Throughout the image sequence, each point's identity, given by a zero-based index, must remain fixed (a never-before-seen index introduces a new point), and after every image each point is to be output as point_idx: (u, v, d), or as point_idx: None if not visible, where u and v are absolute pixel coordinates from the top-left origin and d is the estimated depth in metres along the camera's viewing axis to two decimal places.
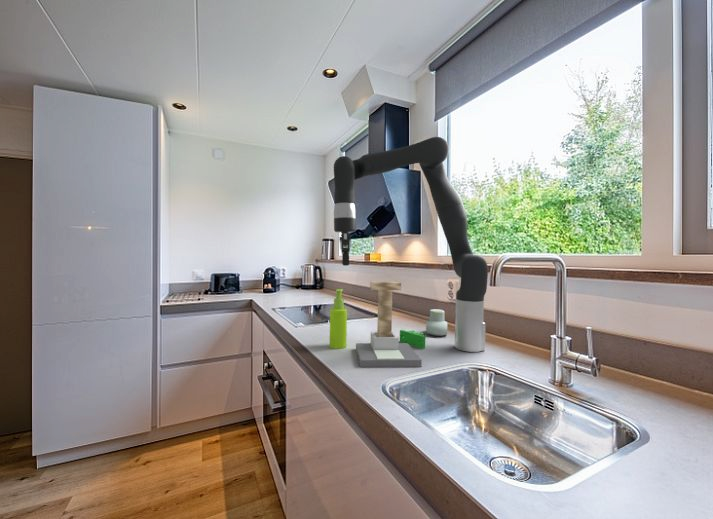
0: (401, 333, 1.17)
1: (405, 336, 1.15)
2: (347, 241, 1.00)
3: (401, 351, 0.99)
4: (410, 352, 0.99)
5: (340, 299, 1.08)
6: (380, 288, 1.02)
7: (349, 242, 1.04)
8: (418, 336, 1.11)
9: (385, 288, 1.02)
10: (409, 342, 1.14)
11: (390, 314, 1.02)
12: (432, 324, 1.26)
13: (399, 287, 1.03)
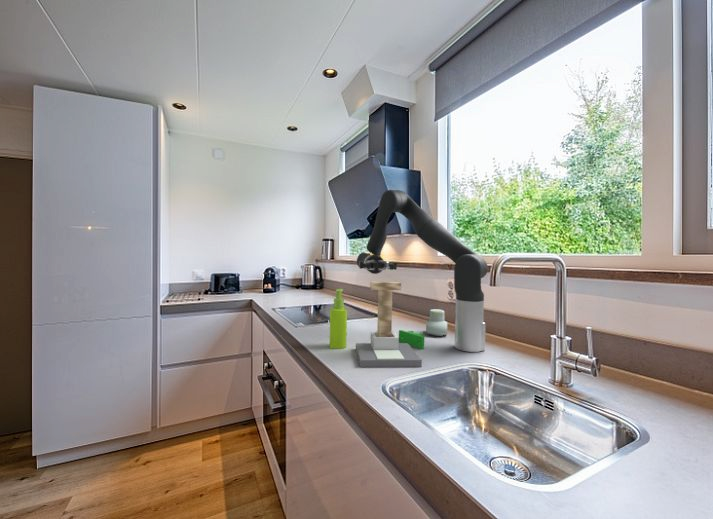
0: (400, 333, 1.17)
1: (404, 336, 1.15)
2: (359, 263, 1.21)
3: (401, 351, 0.99)
4: (410, 352, 0.99)
5: (340, 299, 1.08)
6: (380, 288, 1.02)
7: None
8: (417, 336, 1.10)
9: (385, 288, 1.02)
10: (408, 342, 1.13)
11: (390, 314, 1.02)
12: (432, 324, 1.26)
13: (399, 287, 1.03)
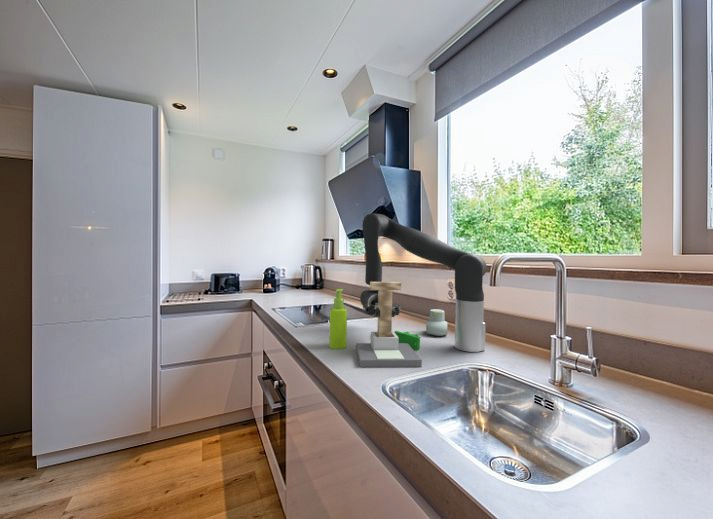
0: (396, 334, 1.15)
1: (400, 337, 1.14)
2: (365, 307, 1.08)
3: (401, 351, 0.99)
4: (410, 352, 0.99)
5: (340, 299, 1.08)
6: (380, 288, 1.02)
7: (375, 305, 1.09)
8: (413, 337, 1.09)
9: (385, 288, 1.02)
10: None
11: (390, 314, 1.02)
12: (432, 324, 1.26)
13: (399, 287, 1.03)
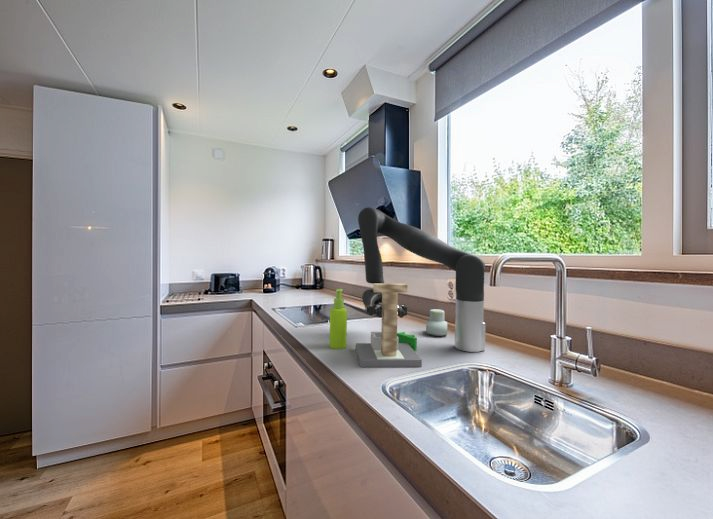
0: None
1: None
2: (366, 307, 1.00)
3: (401, 351, 0.99)
4: (410, 352, 0.99)
5: (340, 299, 1.08)
6: (384, 290, 0.94)
7: None
8: (409, 338, 1.08)
9: (390, 290, 0.94)
10: None
11: (395, 319, 0.93)
12: (432, 324, 1.26)
13: (405, 289, 0.94)
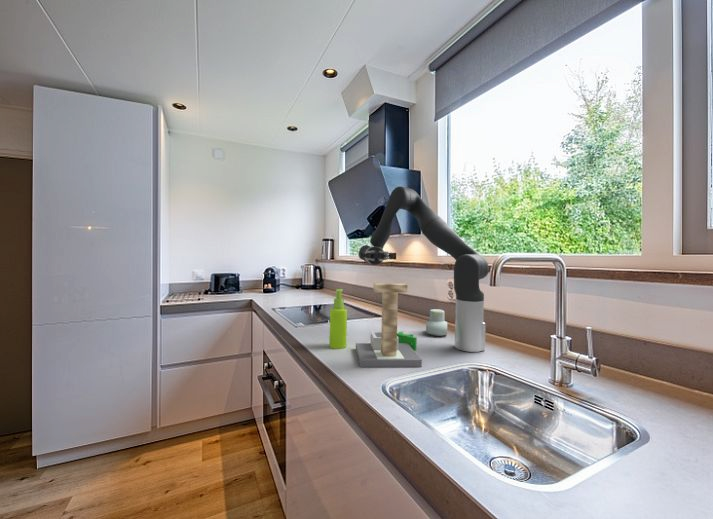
0: None
1: None
2: None
3: (401, 351, 0.99)
4: (410, 352, 0.99)
5: (340, 299, 1.08)
6: (384, 290, 0.94)
7: None
8: (409, 338, 1.08)
9: (390, 290, 0.94)
10: None
11: (395, 319, 0.93)
12: (432, 324, 1.26)
13: (405, 289, 0.94)
